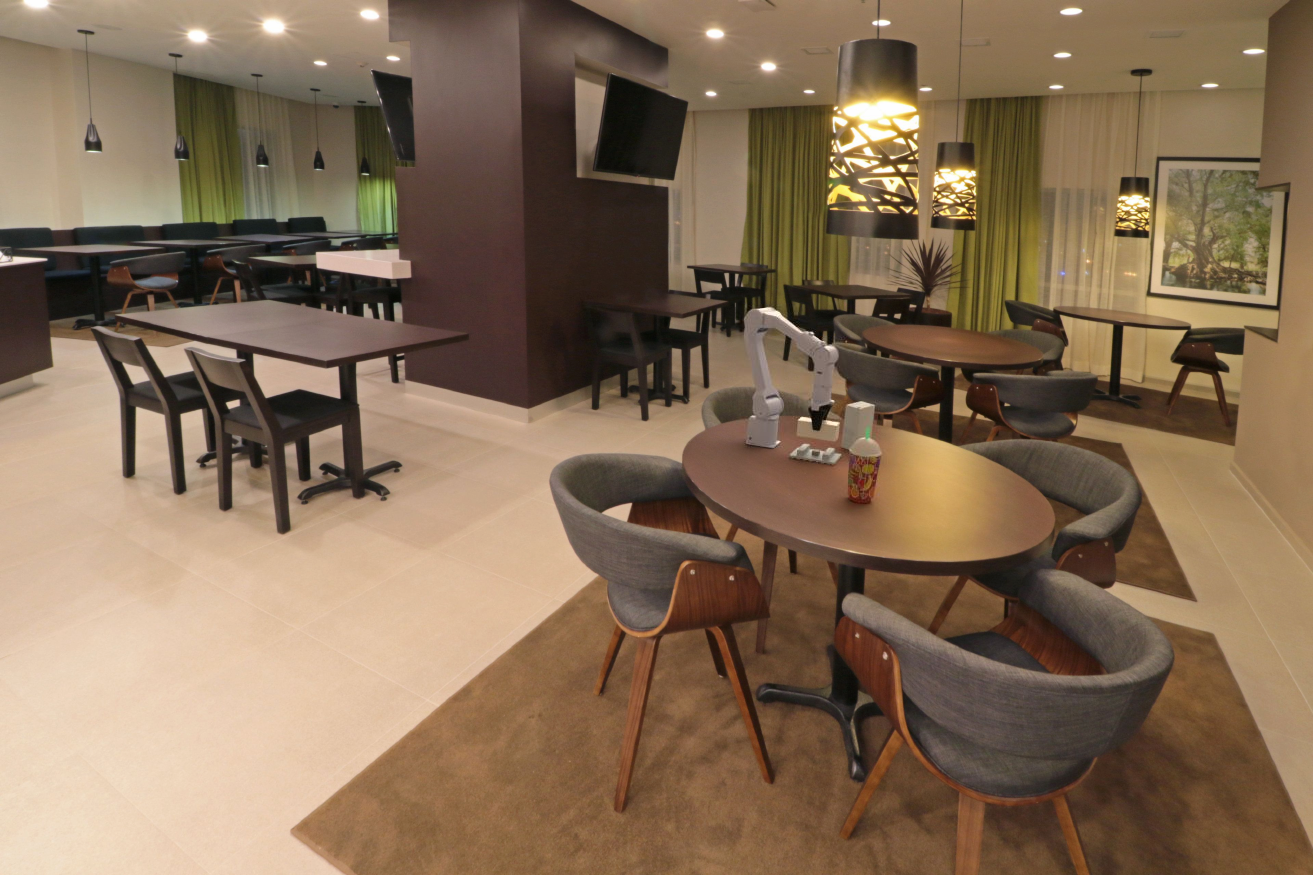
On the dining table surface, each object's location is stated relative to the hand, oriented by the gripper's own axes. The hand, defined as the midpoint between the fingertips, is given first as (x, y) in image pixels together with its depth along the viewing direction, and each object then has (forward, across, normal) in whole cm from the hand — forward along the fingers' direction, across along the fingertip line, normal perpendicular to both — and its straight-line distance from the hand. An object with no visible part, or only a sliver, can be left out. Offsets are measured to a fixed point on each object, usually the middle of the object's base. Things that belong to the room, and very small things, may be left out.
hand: (818, 428), depth 244 cm
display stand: (+9, 0, 0) cm, 9 cm away
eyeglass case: (+3, 0, 0) cm, 3 cm away
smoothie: (+10, -31, -20) cm, 38 cm away
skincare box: (+10, +17, -9) cm, 21 cm away
